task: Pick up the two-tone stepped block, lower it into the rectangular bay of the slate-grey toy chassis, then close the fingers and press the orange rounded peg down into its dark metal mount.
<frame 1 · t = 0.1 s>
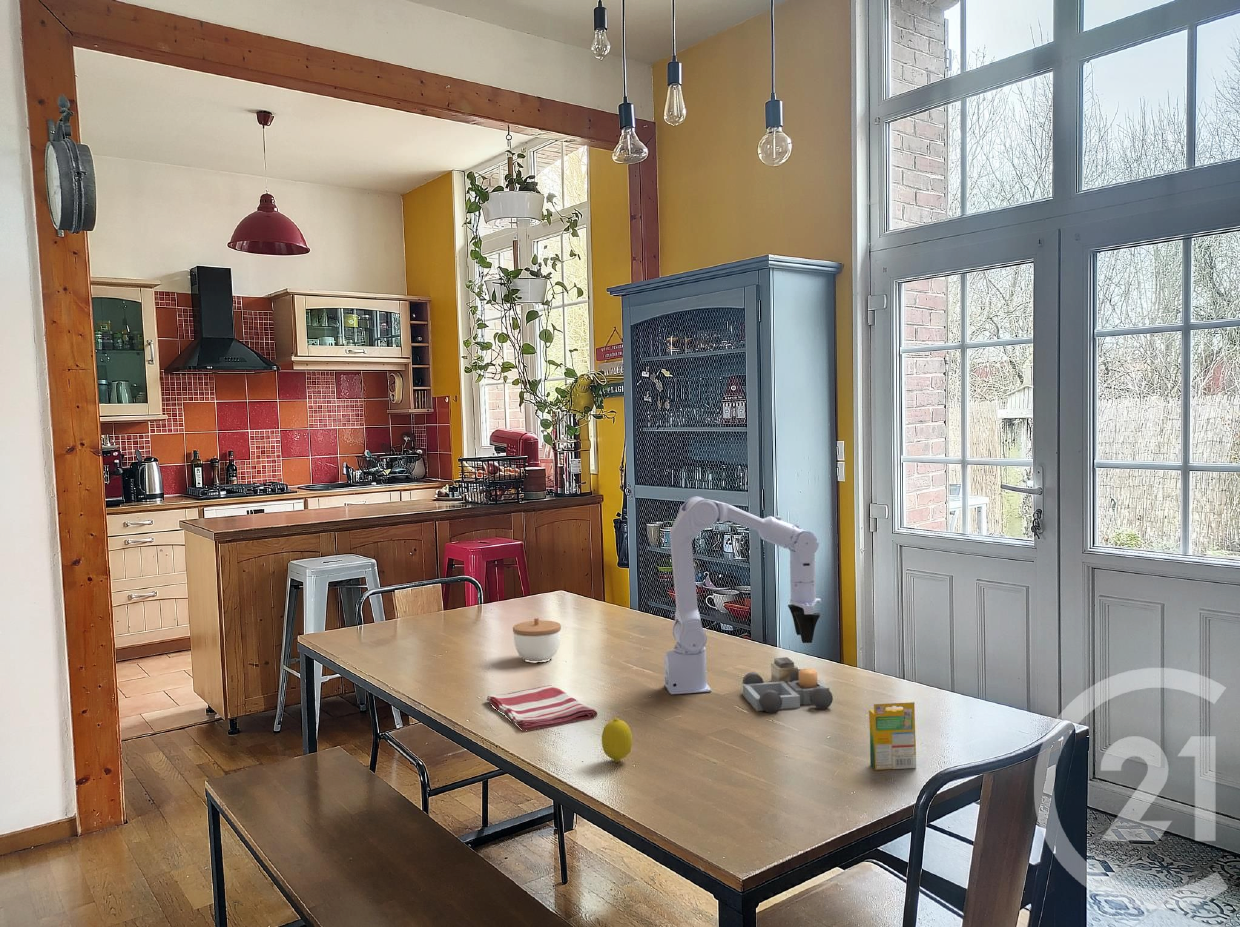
hand: (804, 638, 203), 10 cm above the table, fingers open, 7 cm apart
dish towel: (539, 712, 189), on the table
two-tone stepped block: (784, 683, 202), on the table
lemon: (617, 762, 158), on the table
lidded bowl: (538, 660, 229), on the table
crayon box: (893, 767, 151), on the table
chassis: (784, 700, 189), on the table
orange rounded peg: (808, 679, 190), point 4 cm above the table, slide at 0.0 cm
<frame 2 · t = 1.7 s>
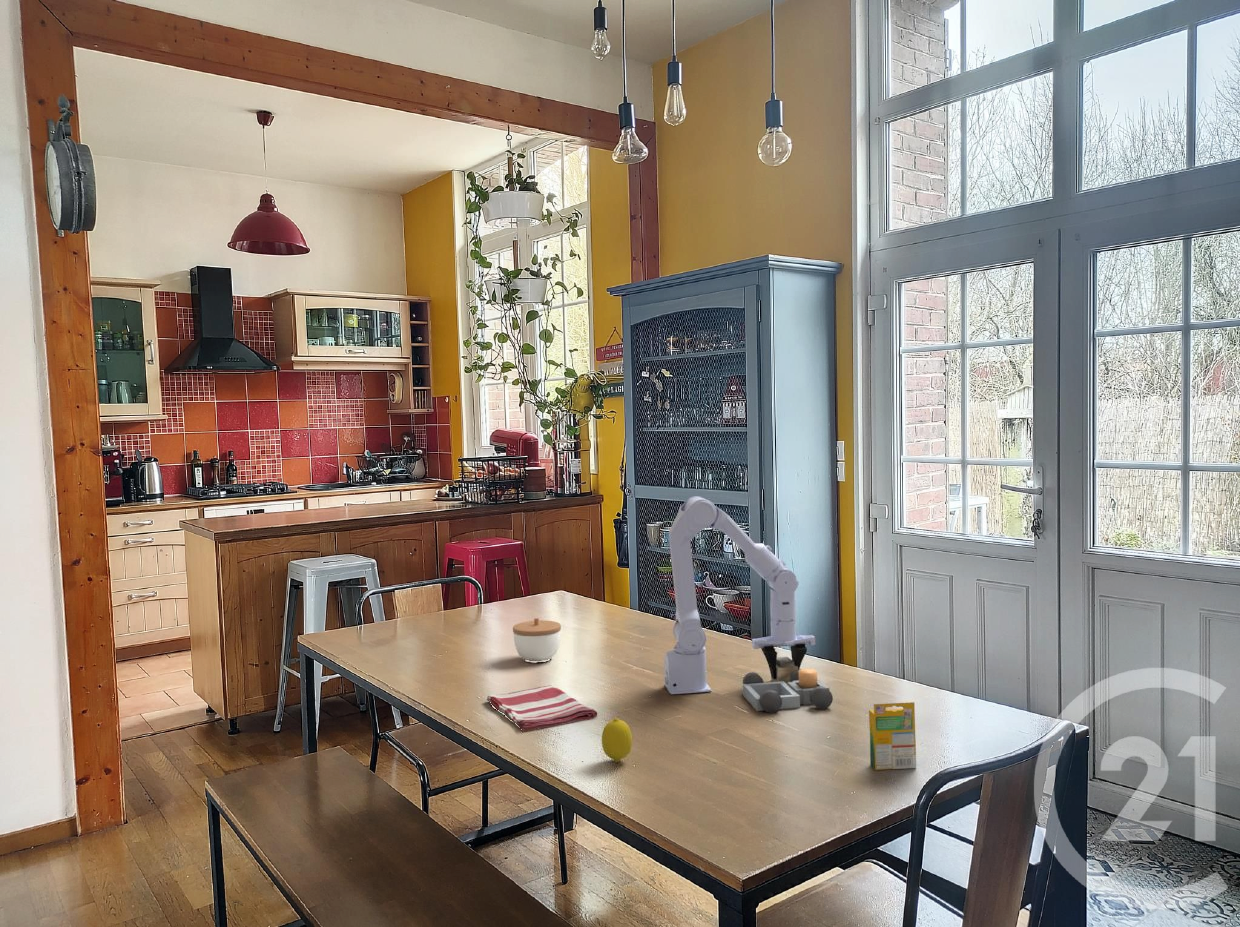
hand: (784, 677, 202), 1 cm above the table, fingers closed on two-tone stepped block, 4 cm apart
two-tone stepped block: (784, 683, 202), on the table, touching gripper
everything else where it was.
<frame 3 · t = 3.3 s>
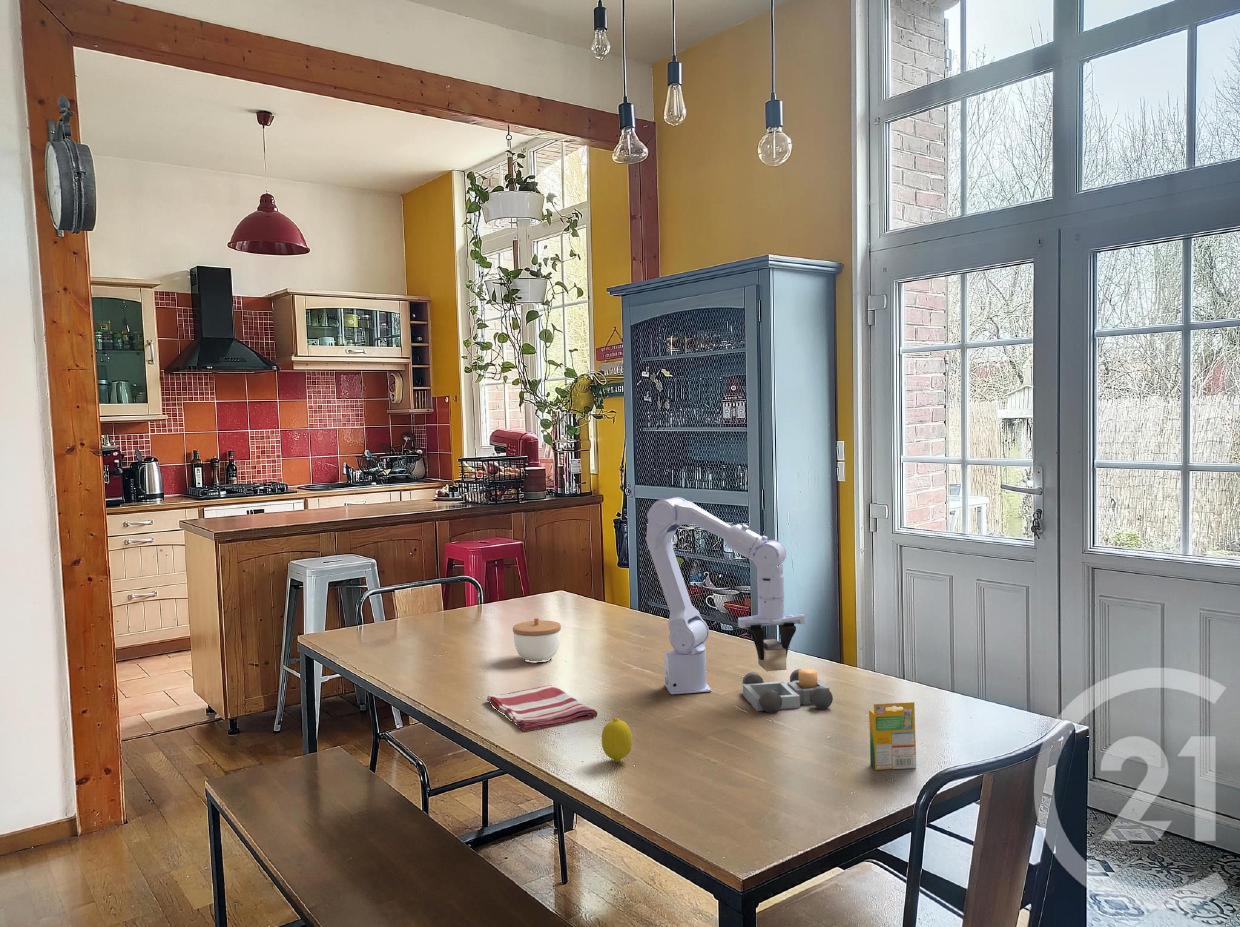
hand: (772, 658, 191), 9 cm above the table, fingers closed on two-tone stepped block, 4 cm apart
two-tone stepped block: (772, 666, 191), point 7 cm above the table, touching gripper
everything else where it was.
when the fingers open (3 cm above the table, at t = 5.0 s): two-tone stepped block drops 1 cm, resting in chassis.
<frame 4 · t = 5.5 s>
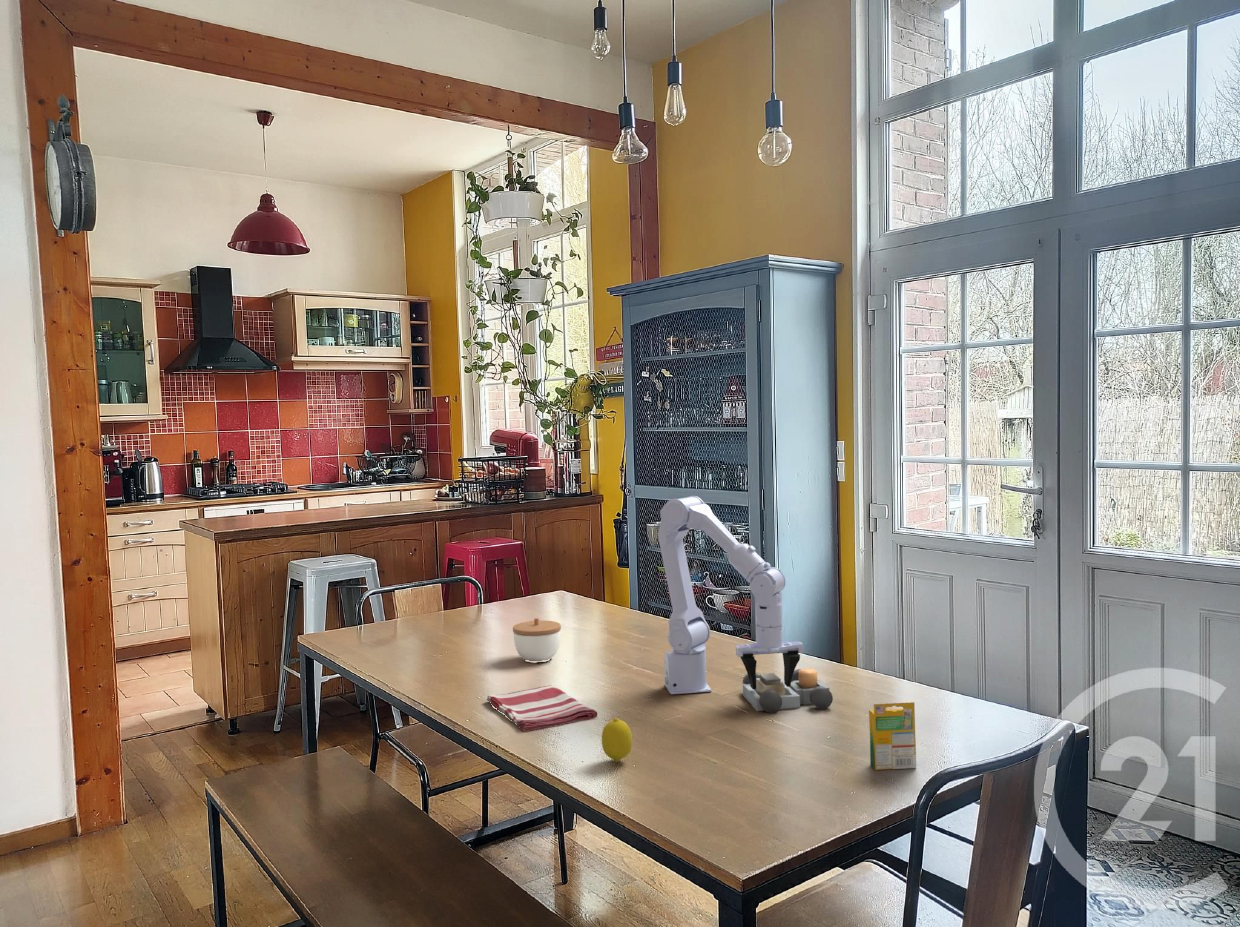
hand: (770, 686, 189), 3 cm above the table, fingers open, 7 cm apart
two-tone stepped block: (770, 701, 189), resting in chassis
everything else where it was.
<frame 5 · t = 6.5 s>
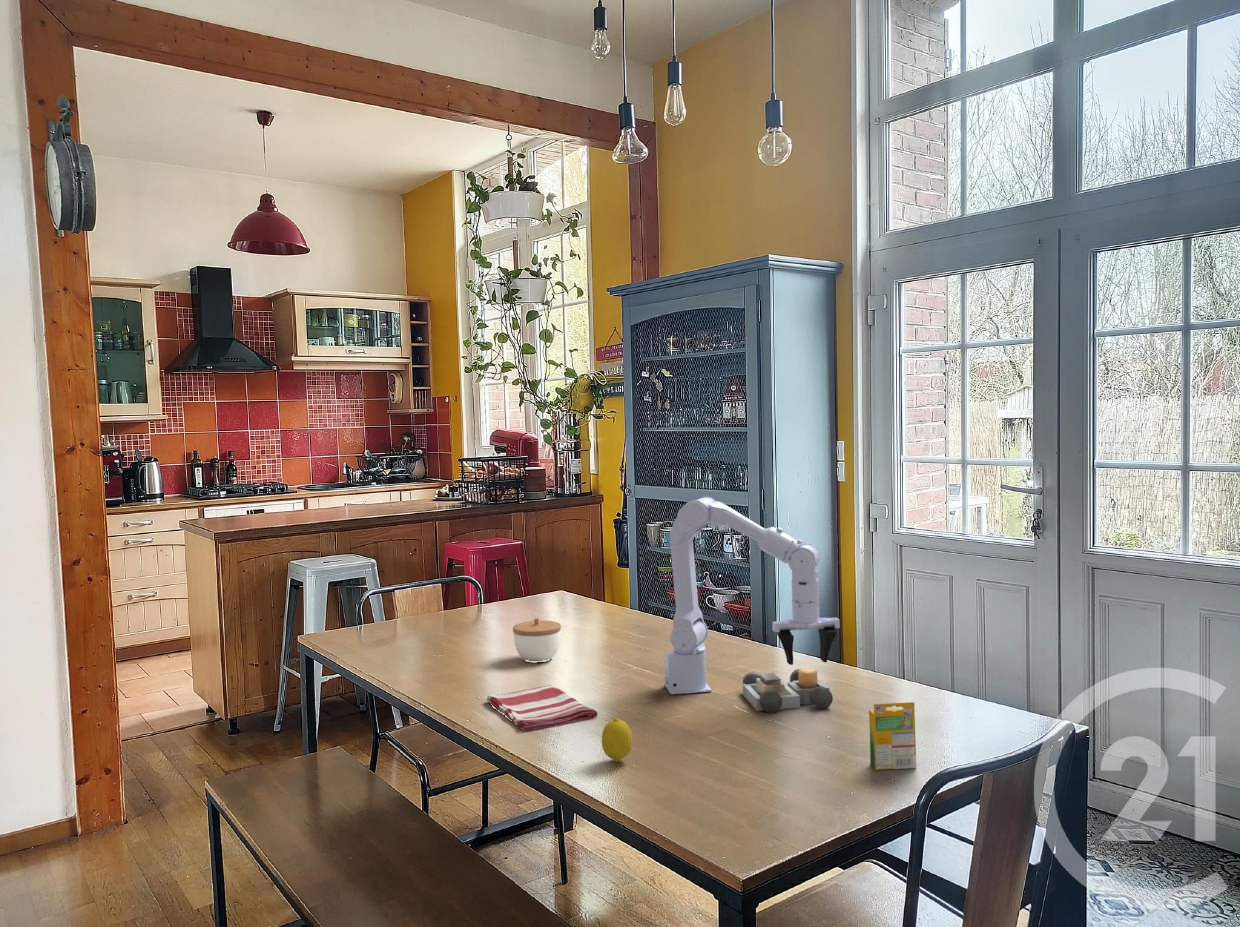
hand: (807, 662, 190), 8 cm above the table, fingers open, 7 cm apart
nothing on the table moved.
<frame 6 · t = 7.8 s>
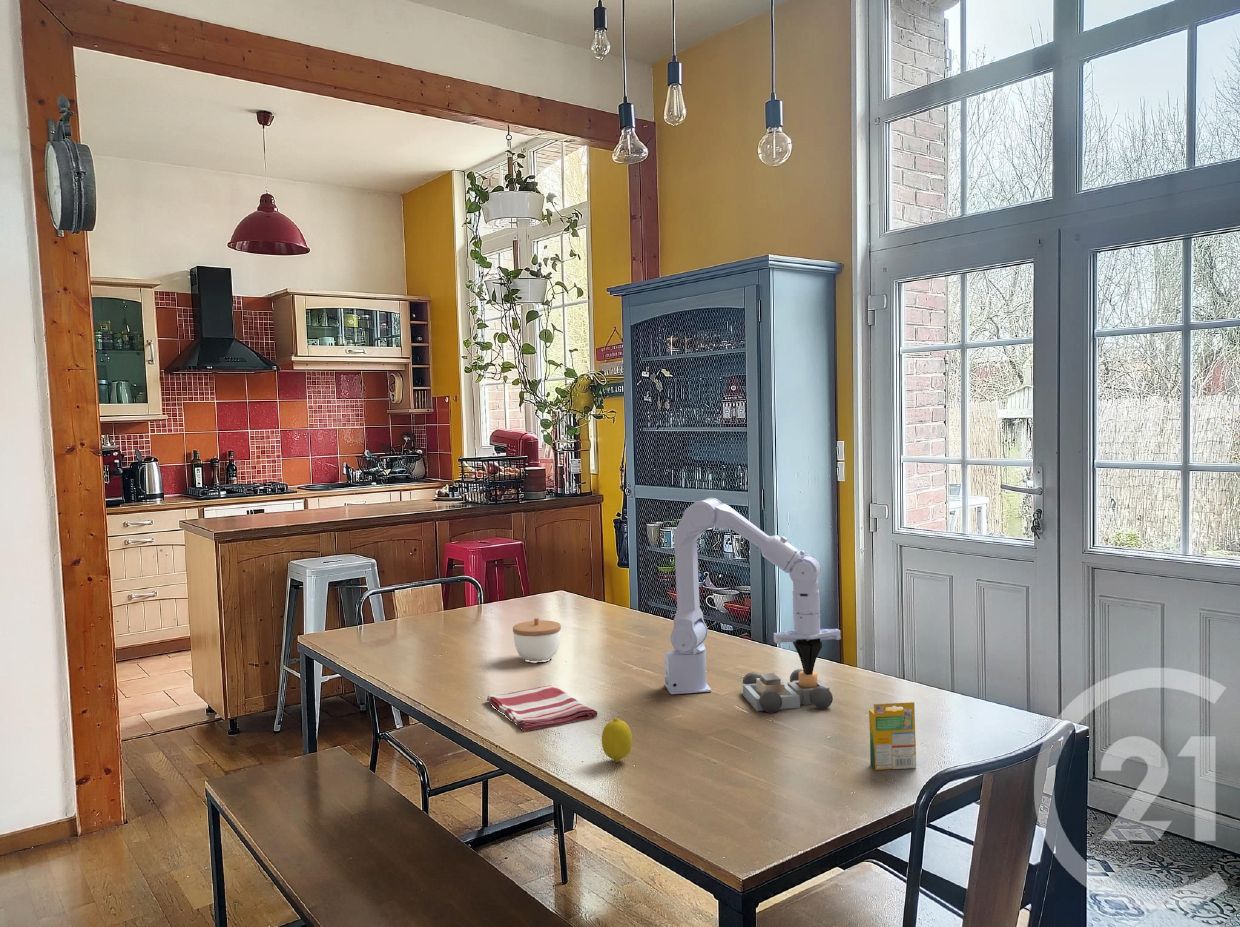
hand: (808, 673, 190), 6 cm above the table, fingers closed, pressing on orange rounded peg
orange rounded peg: (808, 681, 190), point 4 cm above the table, slide at 0.5 cm, touching gripper
everything else where it was.
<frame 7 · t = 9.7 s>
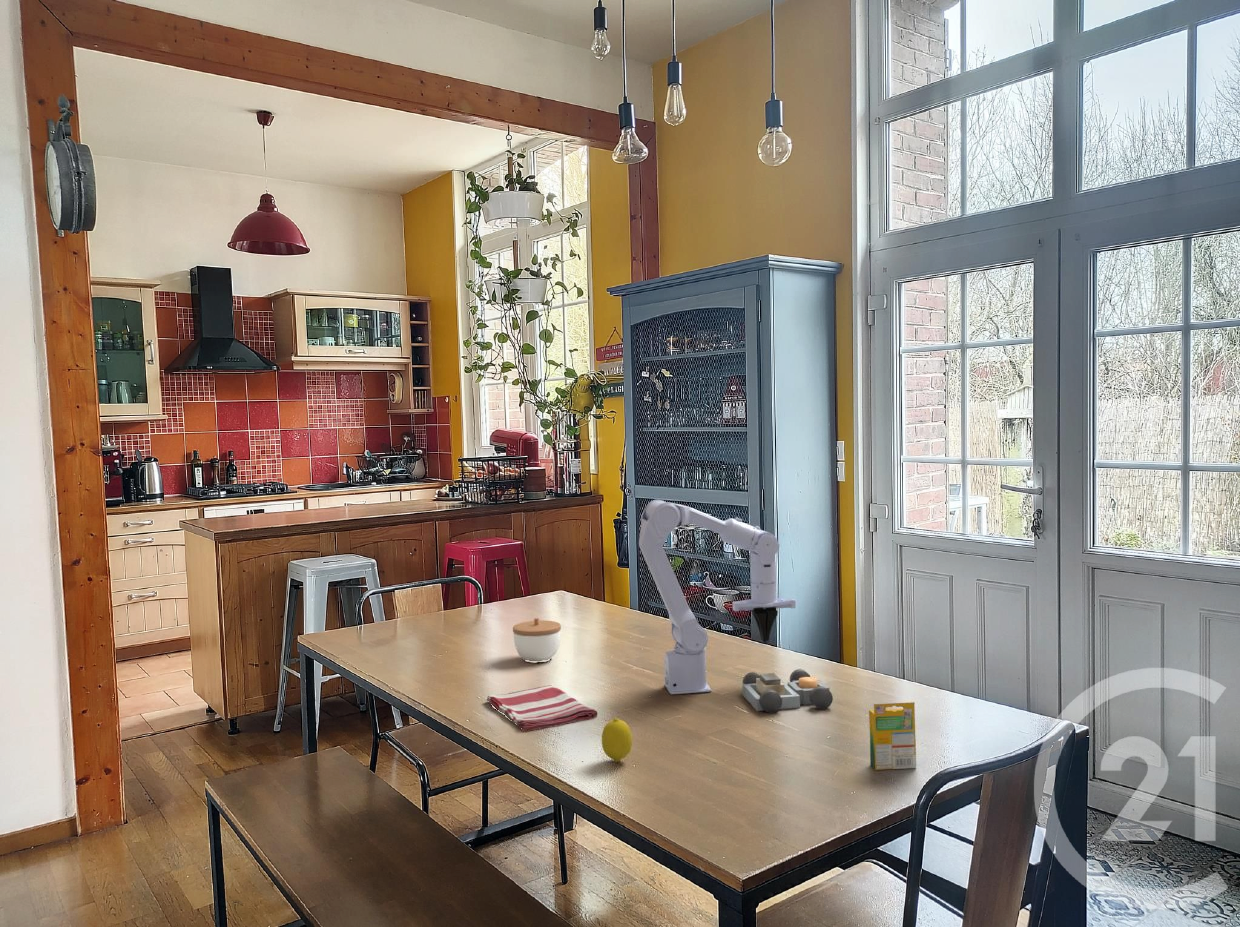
hand: (764, 639, 203), 10 cm above the table, fingers closed
orange rounded peg: (808, 688, 190), point 2 cm above the table, slide at 1.8 cm
everything else where it was.
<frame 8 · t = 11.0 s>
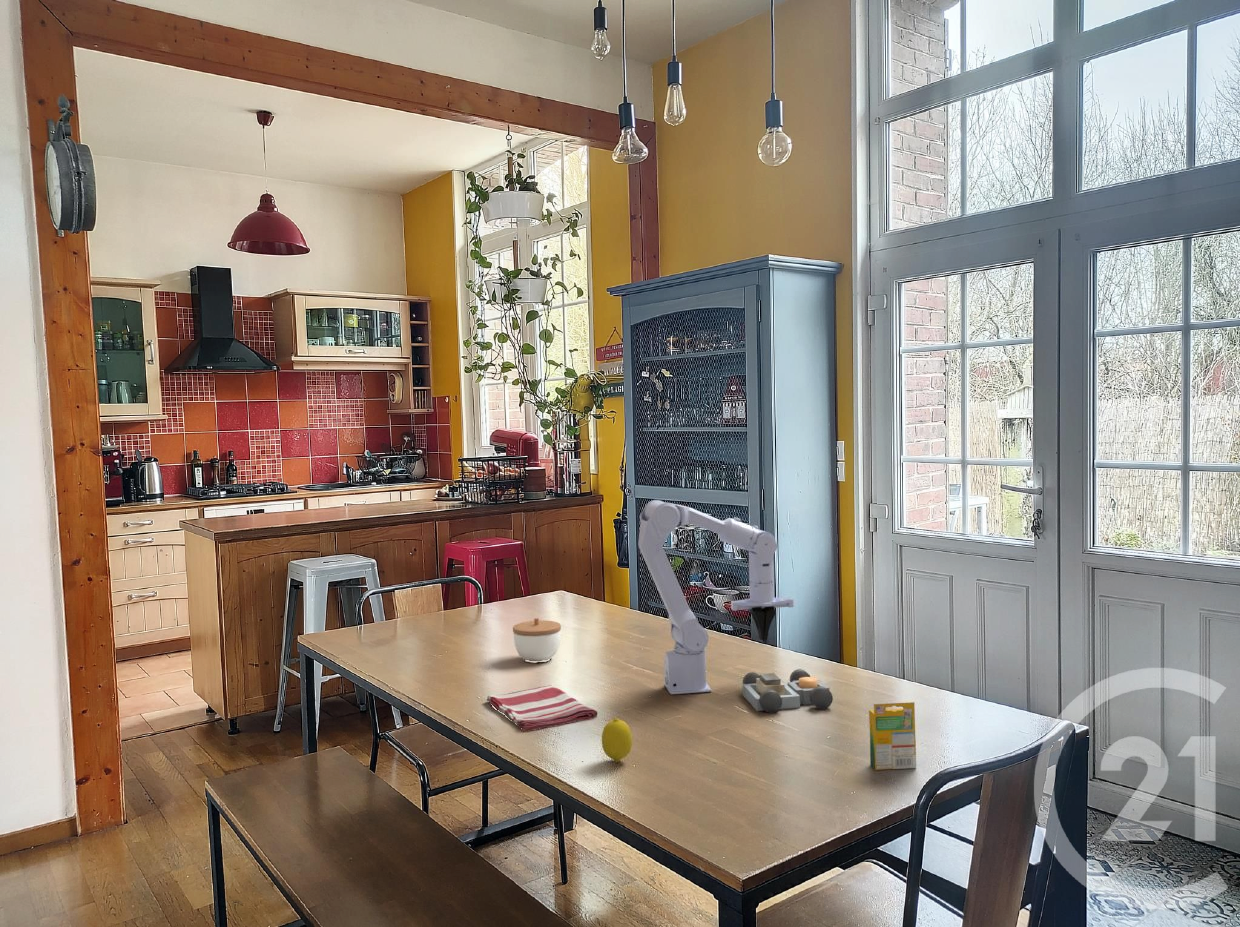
hand: (763, 638, 204), 10 cm above the table, fingers closed
nothing on the table moved.
at the end: two-tone stepped block 0.2 cm from the target spot on the chassis, point 0.0 cm above the chassis's base; two-tone stepped block tilted 0°; orange rounded peg slide at 1.8 cm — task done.
